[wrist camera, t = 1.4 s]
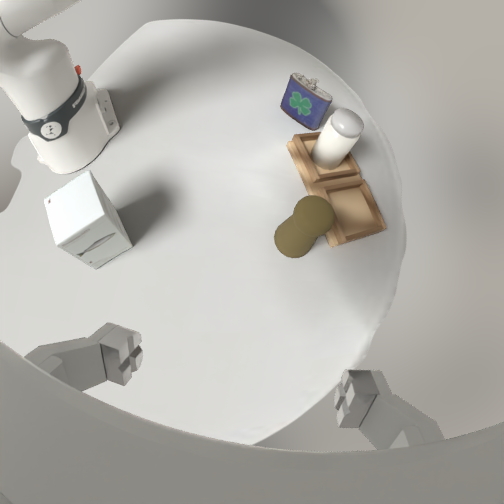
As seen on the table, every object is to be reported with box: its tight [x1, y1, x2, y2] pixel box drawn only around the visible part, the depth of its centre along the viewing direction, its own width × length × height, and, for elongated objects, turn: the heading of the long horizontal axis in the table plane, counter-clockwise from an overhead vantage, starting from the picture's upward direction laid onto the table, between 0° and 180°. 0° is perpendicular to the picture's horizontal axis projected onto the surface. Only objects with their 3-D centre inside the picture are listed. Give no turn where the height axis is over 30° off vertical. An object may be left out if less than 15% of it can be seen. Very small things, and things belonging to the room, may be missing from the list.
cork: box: [274, 195, 335, 258], centre depth 37 cm, size 6×6×11 cm
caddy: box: [287, 132, 386, 248], centre depth 44 cm, size 20×11×3 cm, turn 18°
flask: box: [280, 73, 332, 131], centre depth 44 cm, size 9×3×11 cm, turn 46°
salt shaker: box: [311, 108, 364, 170], centre depth 40 cm, size 6×6×11 cm
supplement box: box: [44, 170, 133, 269], centre depth 32 cm, size 7×7×13 cm
